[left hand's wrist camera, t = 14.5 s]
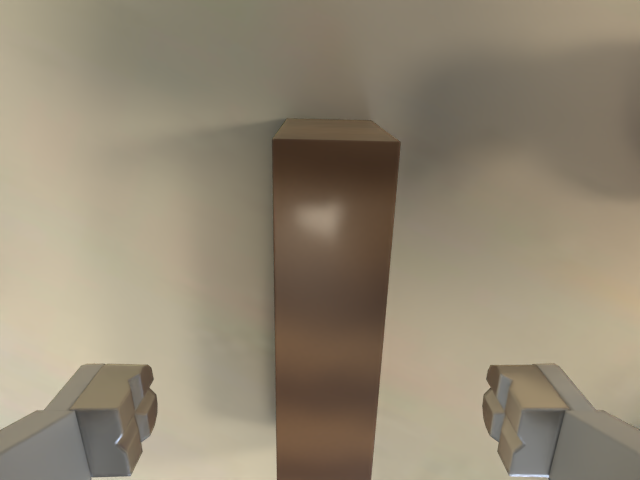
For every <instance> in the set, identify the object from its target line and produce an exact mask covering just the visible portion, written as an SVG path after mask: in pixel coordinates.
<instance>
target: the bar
mask: <svg viewBox="0 0 640 480" xmlns="http://www.w3.org/2000/svg"><path fill="white" fill-rule="evenodd" d="M400 145H401V143H400V141H398V140H397V139H396V138H394V137H393V136H392V135H390V134H389V133H388V132H386V131H385V130H384V129H382V128H381V127H380V126H378V125H377V124H376V123H374V122H373V121H371V120H331V119H289V118H287V119H286V120H285V122H284V123H283V125H282V126H281V128H280V129H279V130H278V132H277V133H276V135H275V136H274V138H273V139H272V169H273V239H274V309H275V379H276V449H277V480H371V474H372V463H373V452H374V440H375V429H376V418H377V406H378V395H379V383H380V372H381V361H382V349H383V338H384V327H385V315H386V304H387V292H388V281H389V270H390V258H391V247H392V236H393V224H394V213H395V202H396V190H397V179H398V167H399V156H400Z"/></svg>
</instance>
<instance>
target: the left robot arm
mask: <svg viewBox="0 0 640 480" xmlns="http://www.w3.org/2000/svg"><path fill="white" fill-rule="evenodd" d="M153 380H154V378H153V373H152V369H151V367H150V366H149V365H142V364H85V365H82V366H81V367H80V368H79V369H78V370H77V371H76V372H75V374H74V375H73V376H72V377H71V378H70V380H69V381H68V382H67V383H66V384H65V386H64V387H63V388H62V389H61V390H60V391H59V393H58V394H57V395H56V396H55V397H54V399H53V400H52V401H51V402H50V403H49V405H48V406H47V407H46V408H45V409H44V410H40V411H35V412H33V413H31V414H29V415H27V416H25V417H24V418H22V419H20V420H18V421H16V422H14V423H12V424H11V425H9V426H7V427H5V428H3V429H1V430H0V480H91V477H117V476H131V474H132V472H133V470H134V468H135V466H136V464H137V462H138V460H139V458H140V456H141V454H142V452H143V451H142V445H141V442H142V441H144V440H145V439H146V438H148V437H149V436H150V435H151V433H152V430H153V428H154V426H155V421H156V417H157V397H156V394H155V393H154V392H153V391H152V390H151V389H150V388H149V387H150V385H151V383H152V381H153ZM486 380H487V381H488V383H489V385H490V387H491V388H490V389H489V390H488V391H487V392H486V393H485V394H484V397H483V405H482V407H483V418H484V422H485V425H486V428H487V430H488V433H489V435H490V436H491V437H492V438H494V439H495V440H496V441H498V442H499V445H498V451H497V452H498V454H499V456H500V458H501V460H502V462H503V464H504V466H505V468H506V470H507V472H508V474H509V476H522V477H549V480H640V430H639V429H637V428H635V427H633V426H631V425H629V424H628V423H626V422H624V421H622V420H620V419H618V418H616V417H614V416H613V415H611V414H609V413H607V412H605V411H600V410H596V409H595V408H594V407H593V406H592V405H591V403H590V402H589V401H588V400H587V399H586V397H585V396H584V395H583V394H582V393H581V392H580V390H579V389H578V388H577V387H576V386H575V384H574V383H573V382H572V381H571V380H570V378H569V377H568V376H567V375H566V374H565V373H564V371H563V370H562V369H561V368H560V367H559V366H558V365H556V364H554V363H551V364H532V365H490V367H489V369H488V373H487V378H486Z"/></svg>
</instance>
